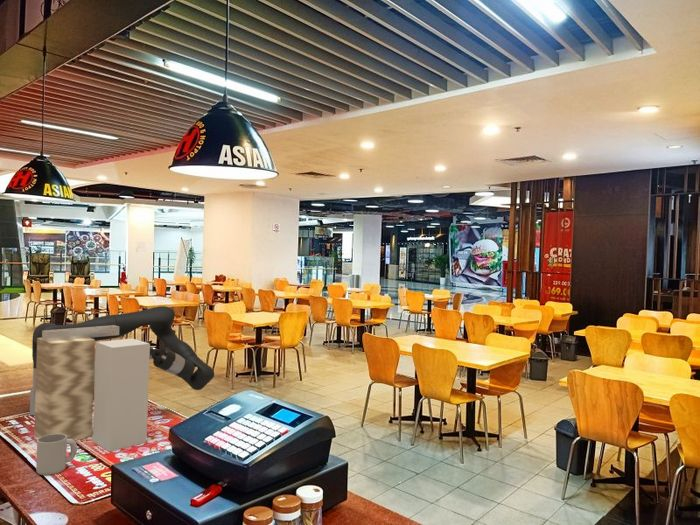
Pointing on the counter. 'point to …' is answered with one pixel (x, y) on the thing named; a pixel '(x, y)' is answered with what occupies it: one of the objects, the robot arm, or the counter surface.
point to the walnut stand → (64, 388)
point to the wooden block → (79, 333)
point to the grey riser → (121, 393)
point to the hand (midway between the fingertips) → (134, 344)
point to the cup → (53, 453)
